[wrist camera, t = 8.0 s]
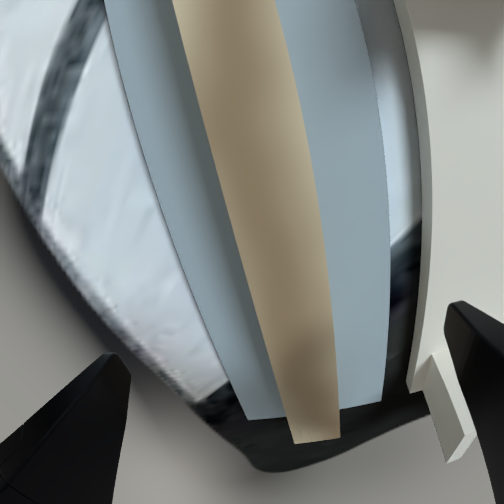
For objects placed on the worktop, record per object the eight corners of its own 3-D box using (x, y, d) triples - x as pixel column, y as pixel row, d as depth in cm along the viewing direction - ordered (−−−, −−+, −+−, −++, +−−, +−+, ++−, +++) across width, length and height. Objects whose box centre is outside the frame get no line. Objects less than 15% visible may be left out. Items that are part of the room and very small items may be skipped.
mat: (315, -94, 7) (317, -100, 7) (379, 394, 21) (380, 400, 20) (102, -40, 9) (96, -43, 8) (248, 413, 22) (247, 419, 22)
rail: (243, -78, 7) (236, -112, 5) (335, 402, 20) (340, 437, 18) (173, -60, 8) (150, -89, 5) (293, 408, 21) (294, 443, 18)
